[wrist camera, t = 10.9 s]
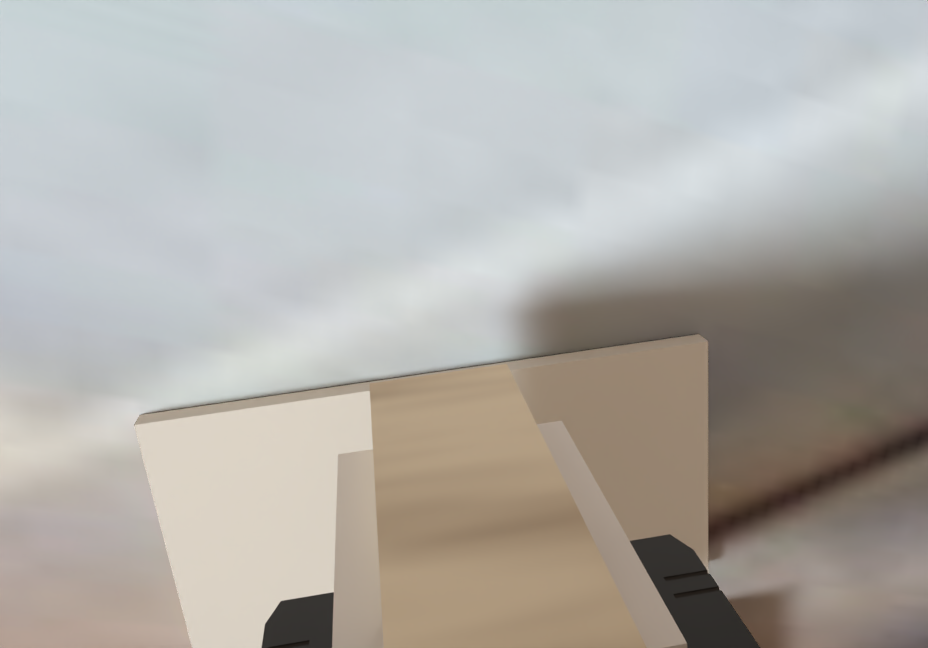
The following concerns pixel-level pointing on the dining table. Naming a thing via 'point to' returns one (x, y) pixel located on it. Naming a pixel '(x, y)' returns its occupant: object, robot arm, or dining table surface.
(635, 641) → the birch block
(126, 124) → the dining table surface
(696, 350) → the white mat
